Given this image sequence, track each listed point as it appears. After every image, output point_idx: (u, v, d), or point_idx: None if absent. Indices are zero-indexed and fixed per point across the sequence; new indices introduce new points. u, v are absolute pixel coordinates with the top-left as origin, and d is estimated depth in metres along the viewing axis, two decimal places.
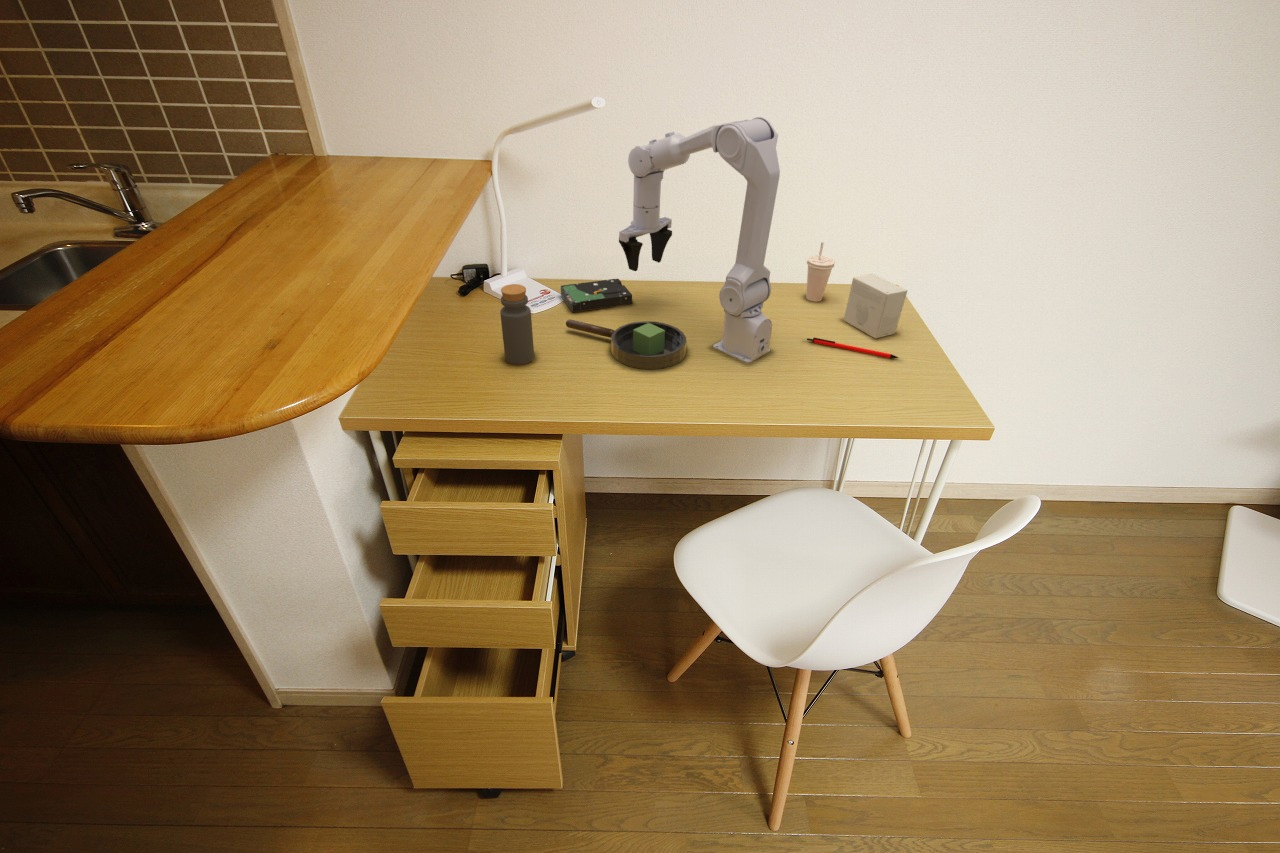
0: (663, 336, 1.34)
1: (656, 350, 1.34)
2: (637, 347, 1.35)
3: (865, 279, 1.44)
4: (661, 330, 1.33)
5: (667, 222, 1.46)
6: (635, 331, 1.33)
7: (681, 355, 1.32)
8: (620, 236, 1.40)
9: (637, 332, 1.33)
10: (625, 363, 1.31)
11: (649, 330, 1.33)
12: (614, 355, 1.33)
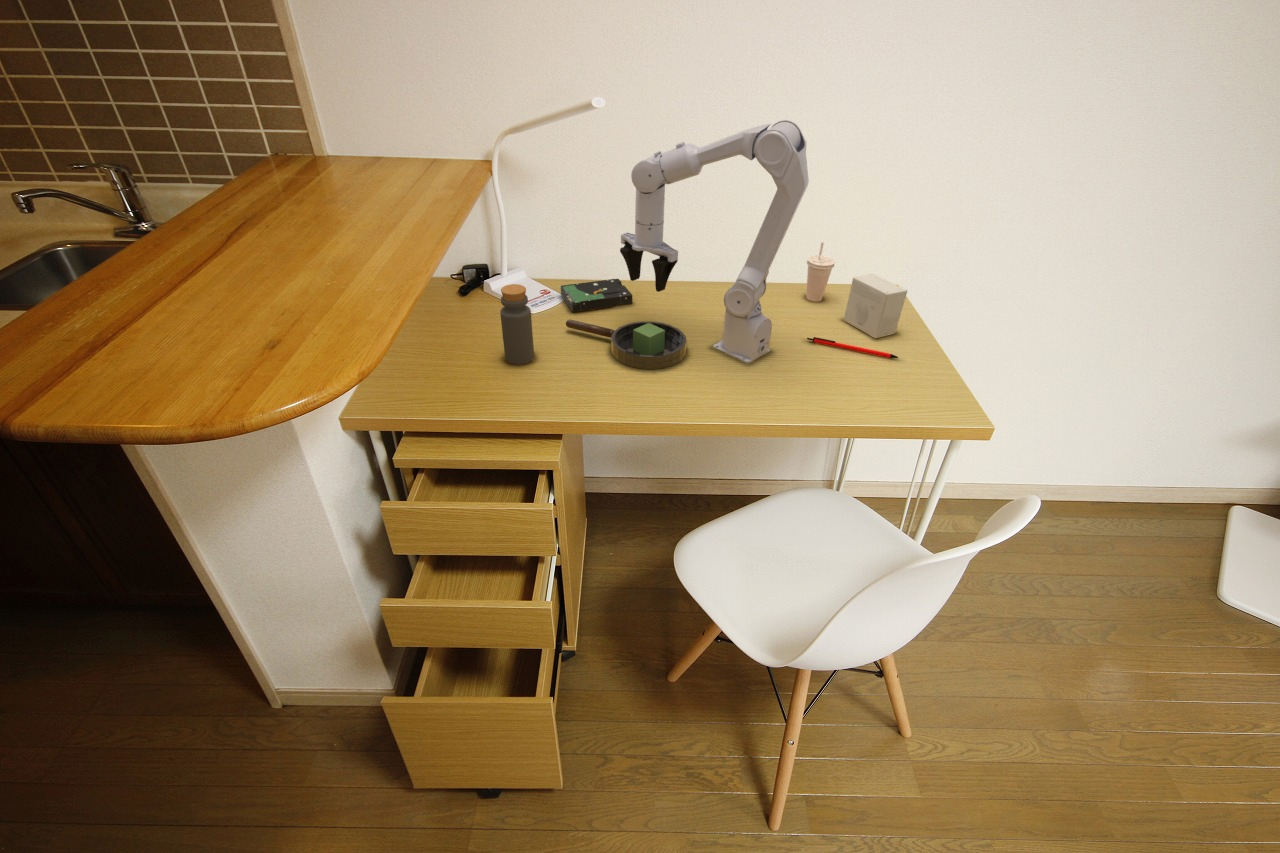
0: (663, 336, 1.34)
1: (656, 350, 1.34)
2: (637, 347, 1.35)
3: (865, 279, 1.44)
4: (661, 330, 1.33)
5: None
6: (635, 331, 1.33)
7: (681, 355, 1.32)
8: (672, 257, 1.30)
9: (637, 332, 1.33)
10: (625, 363, 1.31)
11: (649, 330, 1.33)
12: (614, 355, 1.33)
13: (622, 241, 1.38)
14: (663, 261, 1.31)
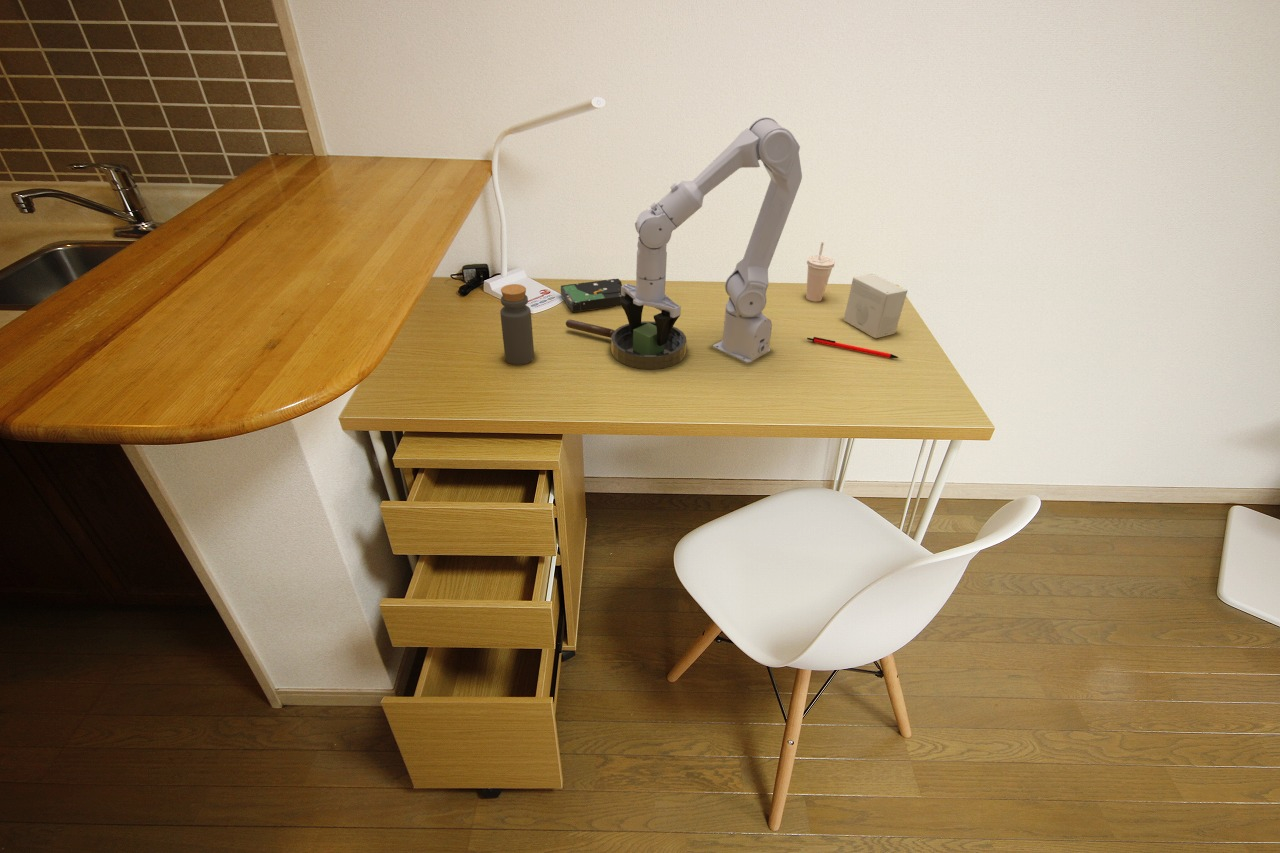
0: None
1: (656, 350, 1.34)
2: (637, 347, 1.35)
3: (865, 279, 1.44)
4: None
5: None
6: (635, 331, 1.33)
7: (681, 355, 1.32)
8: (675, 313, 1.25)
9: (637, 332, 1.33)
10: (625, 363, 1.31)
11: (649, 330, 1.33)
12: (614, 355, 1.33)
13: (622, 293, 1.33)
14: (665, 316, 1.26)
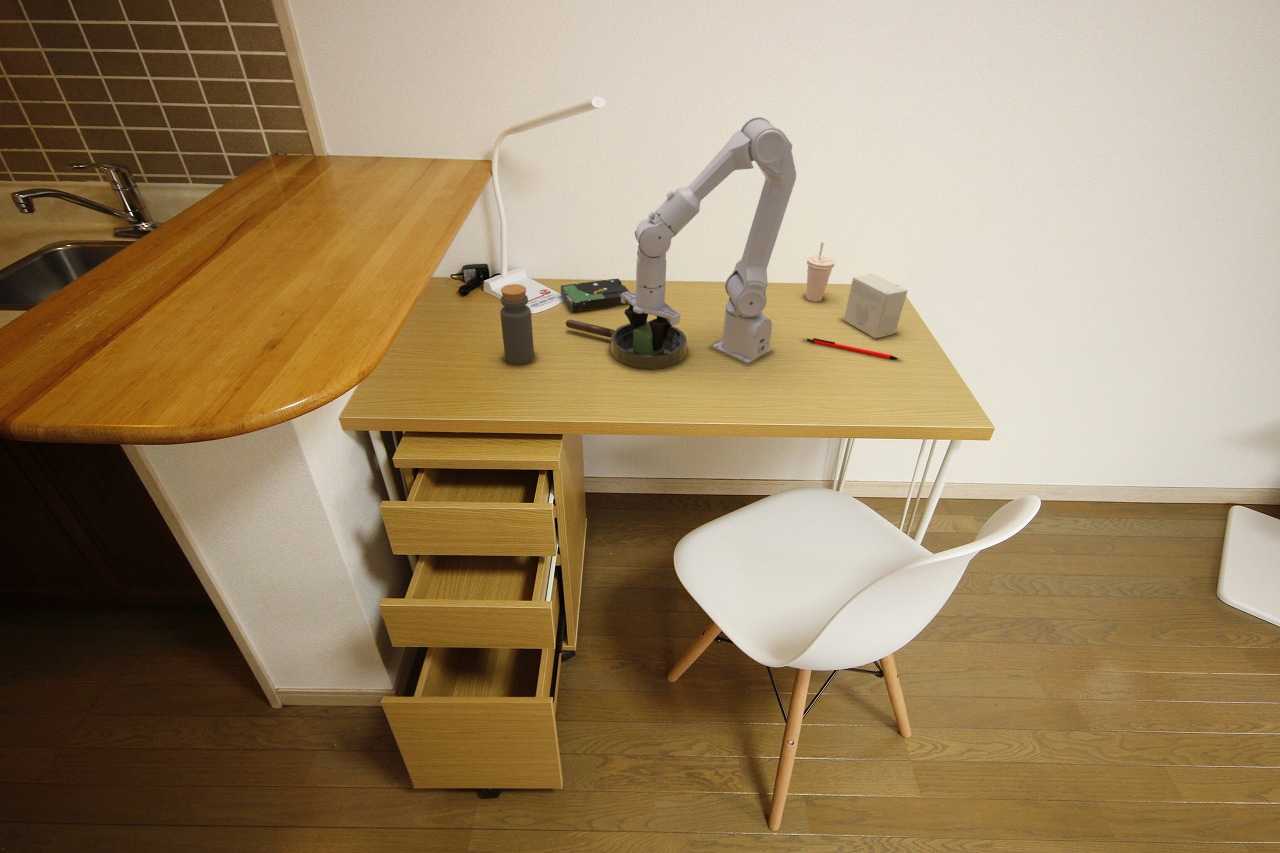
0: None
1: None
2: (637, 348, 1.35)
3: (865, 279, 1.44)
4: None
5: None
6: (635, 331, 1.33)
7: (681, 355, 1.32)
8: (675, 321, 1.26)
9: (637, 332, 1.33)
10: (625, 363, 1.31)
11: (650, 330, 1.33)
12: (614, 355, 1.33)
13: (622, 300, 1.34)
14: (660, 322, 1.28)
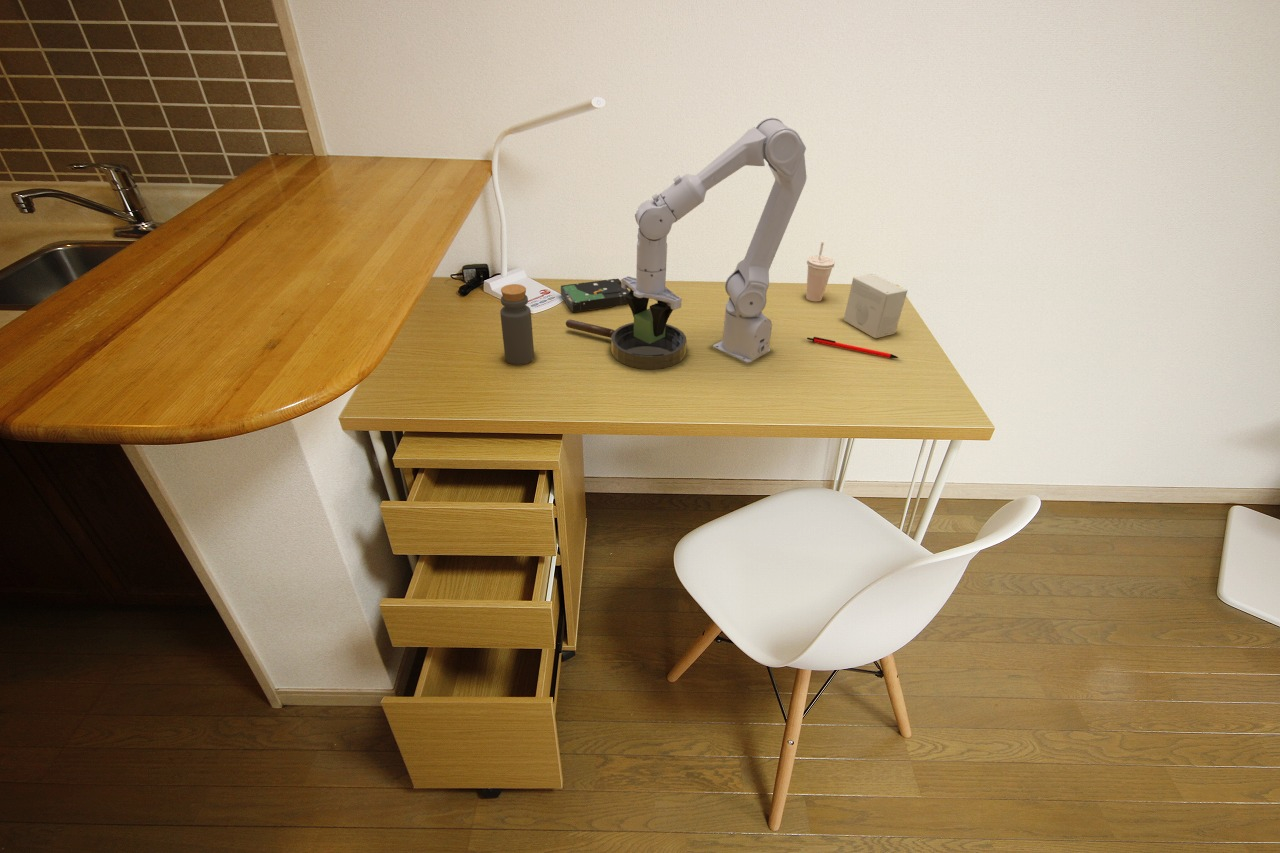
0: None
1: (657, 336, 1.33)
2: (637, 333, 1.33)
3: (865, 279, 1.44)
4: None
5: None
6: (636, 316, 1.31)
7: (681, 355, 1.32)
8: (676, 305, 1.24)
9: (638, 317, 1.31)
10: (625, 363, 1.31)
11: (650, 315, 1.31)
12: (614, 355, 1.33)
13: (623, 285, 1.32)
14: (661, 306, 1.26)
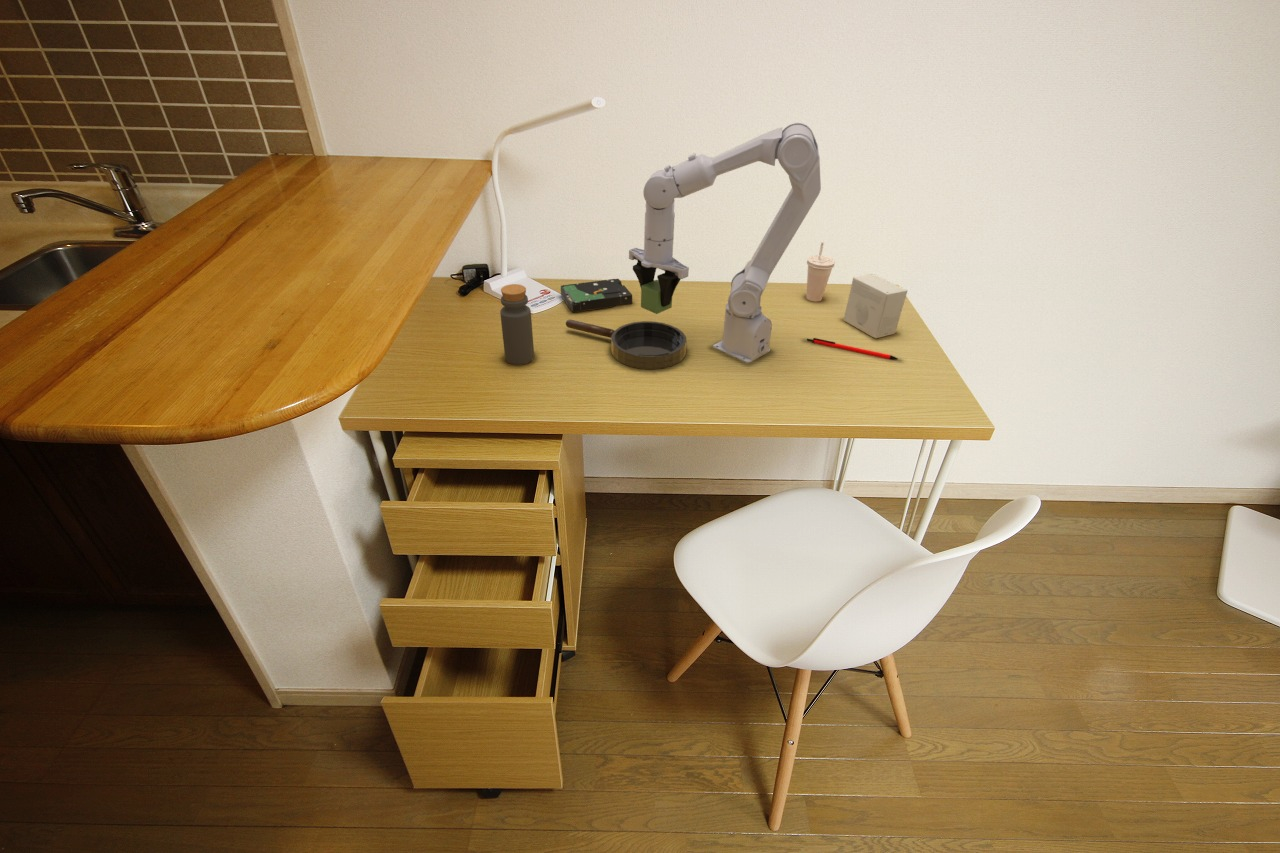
0: None
1: None
2: (644, 304, 1.35)
3: (865, 279, 1.44)
4: None
5: None
6: (643, 287, 1.34)
7: (681, 355, 1.32)
8: (683, 274, 1.27)
9: (645, 288, 1.33)
10: (625, 363, 1.31)
11: (657, 286, 1.34)
12: (614, 355, 1.33)
13: (630, 257, 1.35)
14: (669, 276, 1.29)
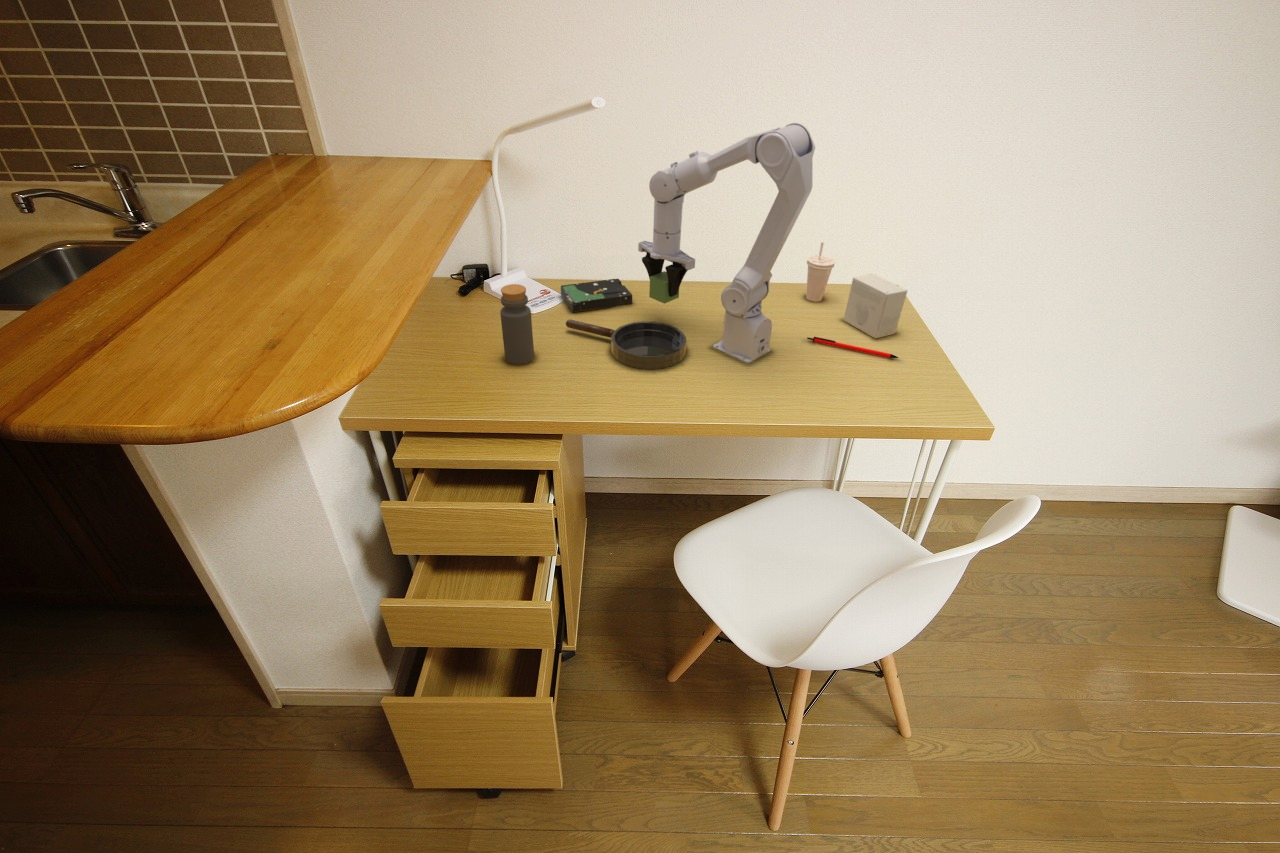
0: None
1: None
2: (653, 294, 1.42)
3: (865, 279, 1.44)
4: None
5: None
6: (652, 278, 1.40)
7: (681, 355, 1.32)
8: (690, 265, 1.34)
9: (654, 279, 1.40)
10: (625, 363, 1.31)
11: (665, 277, 1.41)
12: (614, 355, 1.33)
13: (639, 249, 1.41)
14: (676, 267, 1.35)
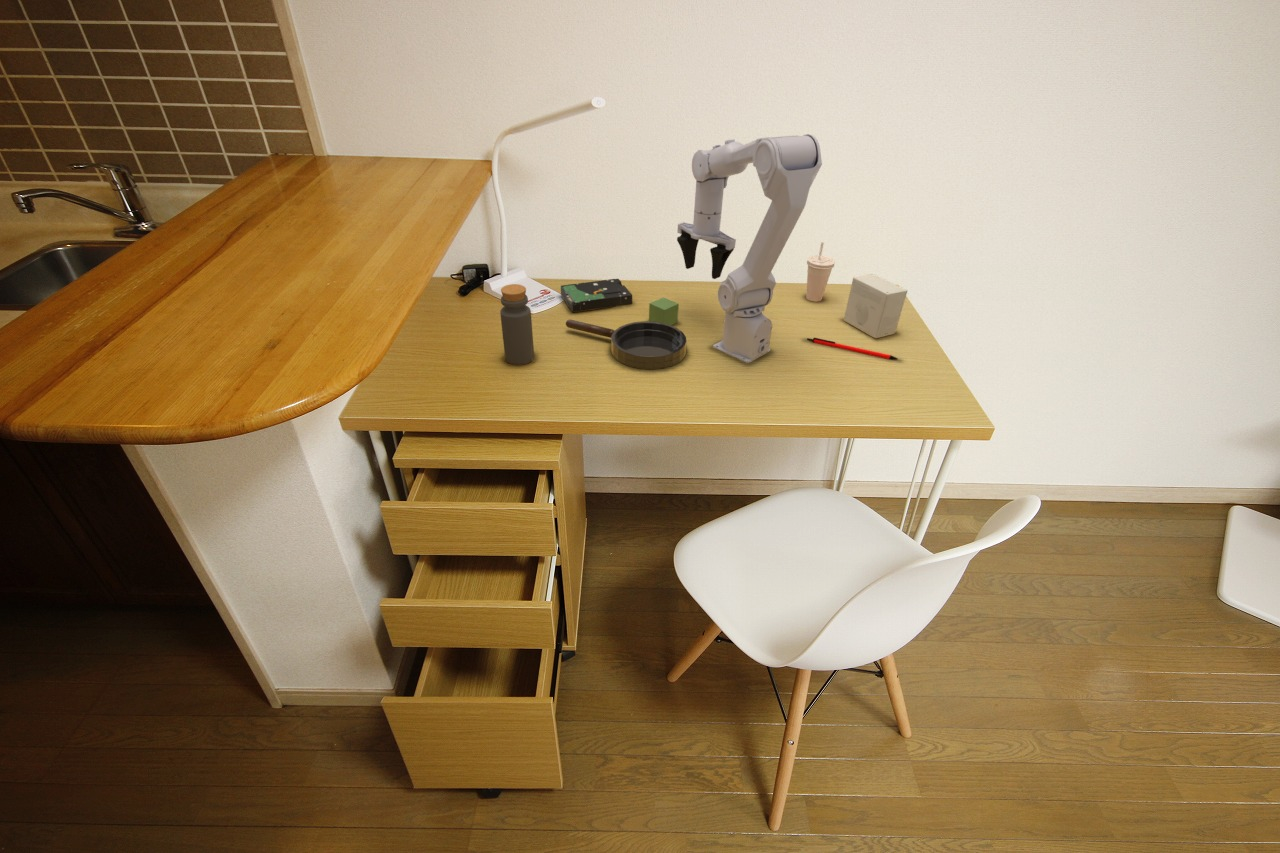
0: (676, 310, 1.45)
1: (670, 322, 1.46)
2: (652, 320, 1.46)
3: (865, 279, 1.44)
4: (675, 304, 1.45)
5: None
6: (651, 304, 1.44)
7: (681, 355, 1.32)
8: (730, 245, 1.36)
9: (653, 305, 1.44)
10: (625, 363, 1.31)
11: (664, 303, 1.44)
12: (614, 355, 1.33)
13: (679, 230, 1.44)
14: (721, 249, 1.37)
